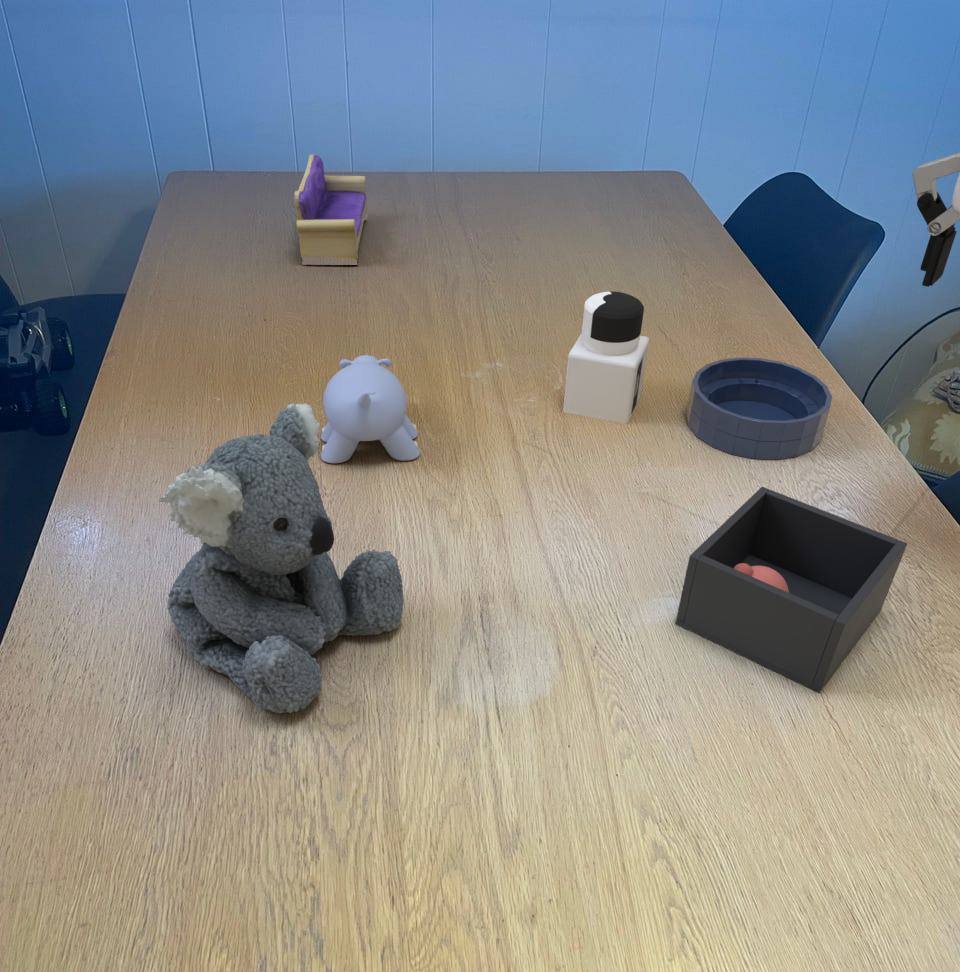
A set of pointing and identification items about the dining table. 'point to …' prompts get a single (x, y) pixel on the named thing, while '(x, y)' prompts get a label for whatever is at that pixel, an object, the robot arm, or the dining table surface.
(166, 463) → the dining table surface
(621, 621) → the dining table surface
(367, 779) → the dining table surface
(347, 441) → the hippopotamus toy
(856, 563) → the bin
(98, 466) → the dining table surface
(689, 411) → the bowl
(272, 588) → the koala plush
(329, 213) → the toy sofa
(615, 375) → the container
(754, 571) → the plush toy
